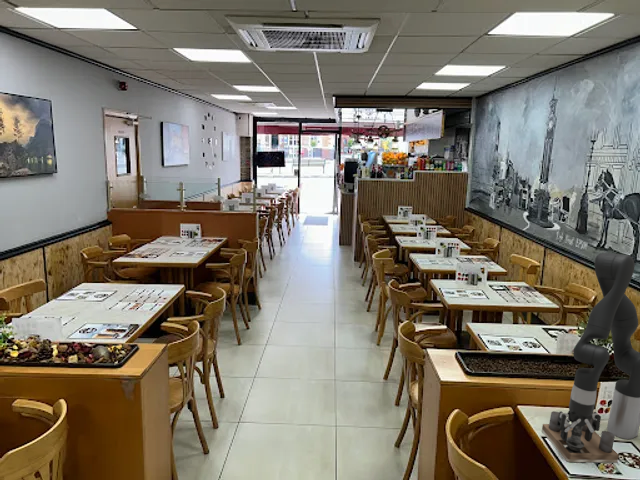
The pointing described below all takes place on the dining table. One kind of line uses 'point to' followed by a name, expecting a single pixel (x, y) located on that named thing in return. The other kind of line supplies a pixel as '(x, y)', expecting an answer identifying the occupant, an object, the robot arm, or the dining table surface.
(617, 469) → the dining table surface
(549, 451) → the dining table surface
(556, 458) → the dining table surface
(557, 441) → the wooden peg stand
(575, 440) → the grey chess piece
